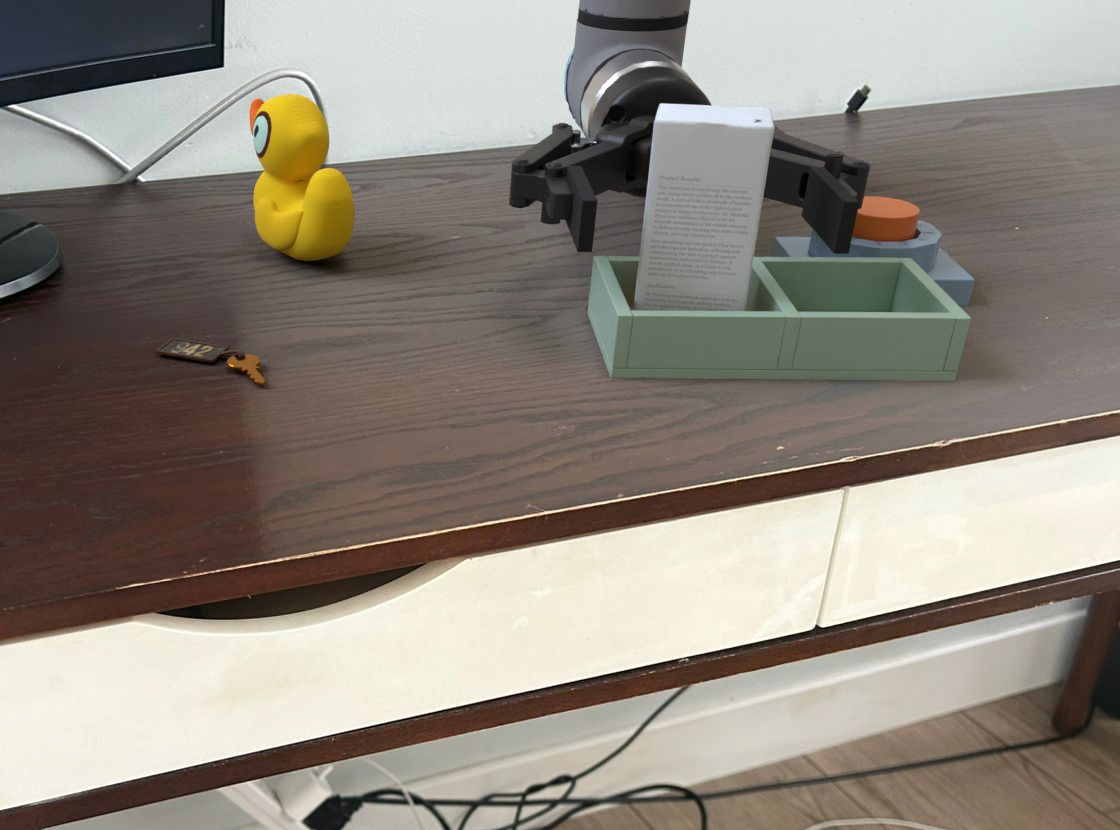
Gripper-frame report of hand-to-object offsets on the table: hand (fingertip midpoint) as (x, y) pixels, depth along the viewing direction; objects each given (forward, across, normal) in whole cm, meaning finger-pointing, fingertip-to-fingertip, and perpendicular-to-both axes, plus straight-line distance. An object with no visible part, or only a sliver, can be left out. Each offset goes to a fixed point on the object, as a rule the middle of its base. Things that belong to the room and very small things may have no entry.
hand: (716, 227), depth 71 cm
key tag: (0, +27, -8) cm, 28 cm away
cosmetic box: (-4, 0, -7) cm, 8 cm away
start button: (-14, -13, -5) cm, 20 cm away
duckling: (-19, +23, -8) cm, 31 cm away
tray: (-3, -4, -8) cm, 10 cm away
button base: (-14, -13, -8) cm, 21 cm away
